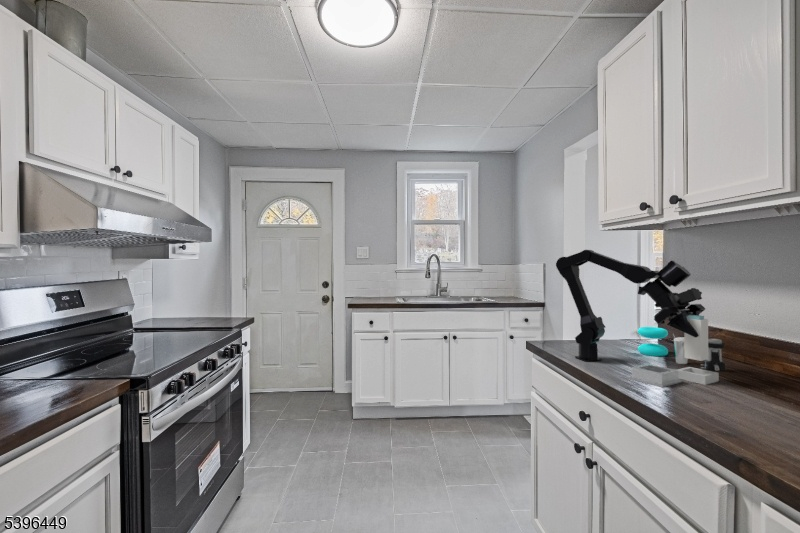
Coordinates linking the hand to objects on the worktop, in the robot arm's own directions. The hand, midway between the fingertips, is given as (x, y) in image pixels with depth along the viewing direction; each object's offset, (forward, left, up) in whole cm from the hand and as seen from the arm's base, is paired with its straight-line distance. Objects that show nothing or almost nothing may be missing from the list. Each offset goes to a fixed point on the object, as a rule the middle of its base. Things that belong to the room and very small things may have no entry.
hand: (701, 335), depth 120 cm
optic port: (-3, -13, -13) cm, 19 cm away
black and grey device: (-9, +15, -14) cm, 22 cm away
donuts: (-33, +15, -14) cm, 39 cm away
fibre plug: (-1, 0, -7) cm, 7 cm away
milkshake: (-19, +13, -14) cm, 27 cm away
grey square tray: (-1, 0, -13) cm, 13 cm away
